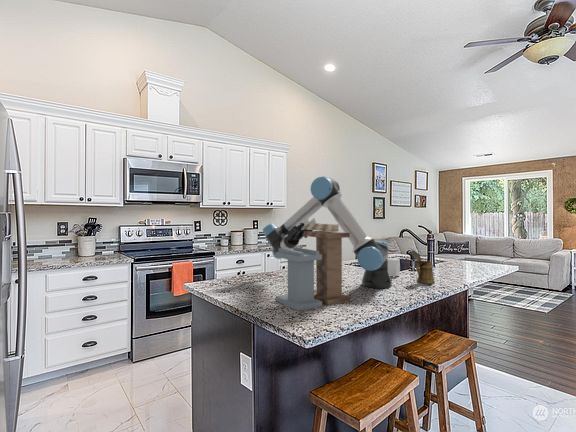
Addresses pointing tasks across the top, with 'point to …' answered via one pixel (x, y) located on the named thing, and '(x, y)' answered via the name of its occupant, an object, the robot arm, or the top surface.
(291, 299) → the low bracket
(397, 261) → the cup
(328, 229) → the rail
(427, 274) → the wooden mug
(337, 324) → the top surface
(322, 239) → the tall bracket
